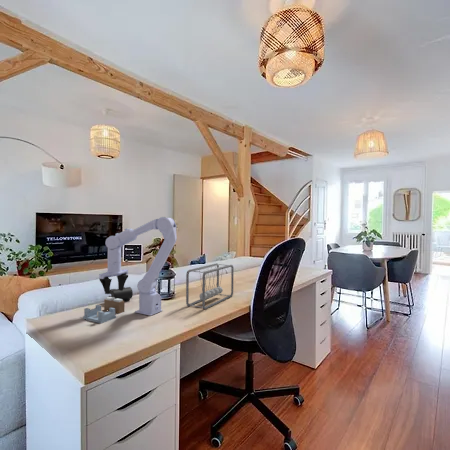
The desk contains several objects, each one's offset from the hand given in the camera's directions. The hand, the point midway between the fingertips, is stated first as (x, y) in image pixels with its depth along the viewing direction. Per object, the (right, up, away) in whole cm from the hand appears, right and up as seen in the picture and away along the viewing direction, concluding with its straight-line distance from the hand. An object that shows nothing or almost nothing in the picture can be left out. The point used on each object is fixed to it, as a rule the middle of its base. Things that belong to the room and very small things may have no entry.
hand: (114, 292), depth 127 cm
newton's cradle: (+44, -9, +17) cm, 48 cm away
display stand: (-2, -9, -10) cm, 14 cm away
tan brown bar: (0, -9, 0) cm, 9 cm away
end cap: (-3, -9, +16) cm, 18 cm away
